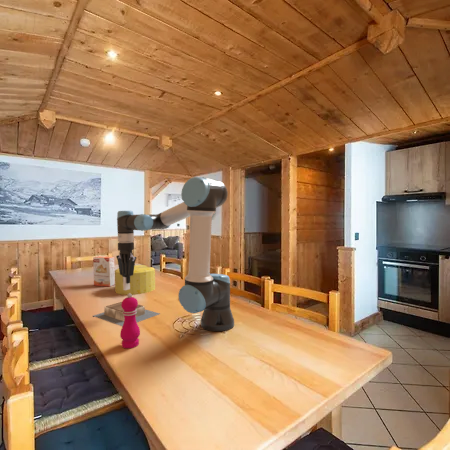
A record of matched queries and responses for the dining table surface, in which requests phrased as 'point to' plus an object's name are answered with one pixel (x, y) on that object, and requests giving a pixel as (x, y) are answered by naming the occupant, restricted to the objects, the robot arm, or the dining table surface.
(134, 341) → the pepper mill
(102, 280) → the cracker box
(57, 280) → the dining table surface
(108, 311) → the brown wooden block
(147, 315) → the mat
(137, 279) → the cheese
